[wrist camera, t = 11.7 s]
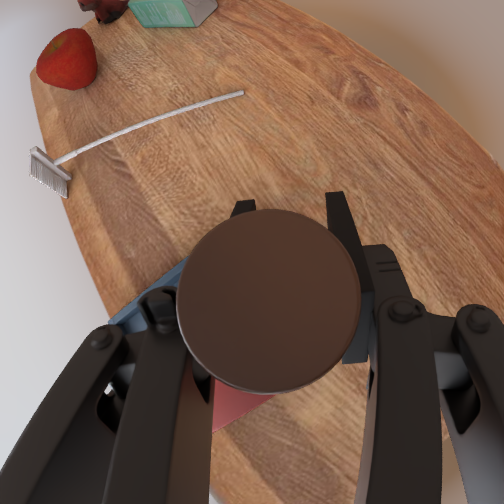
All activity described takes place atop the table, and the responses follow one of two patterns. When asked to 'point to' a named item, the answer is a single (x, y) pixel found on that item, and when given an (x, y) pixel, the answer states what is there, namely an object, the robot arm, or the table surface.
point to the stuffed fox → (105, 8)
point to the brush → (58, 176)
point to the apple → (68, 60)
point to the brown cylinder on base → (266, 307)
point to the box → (172, 12)
